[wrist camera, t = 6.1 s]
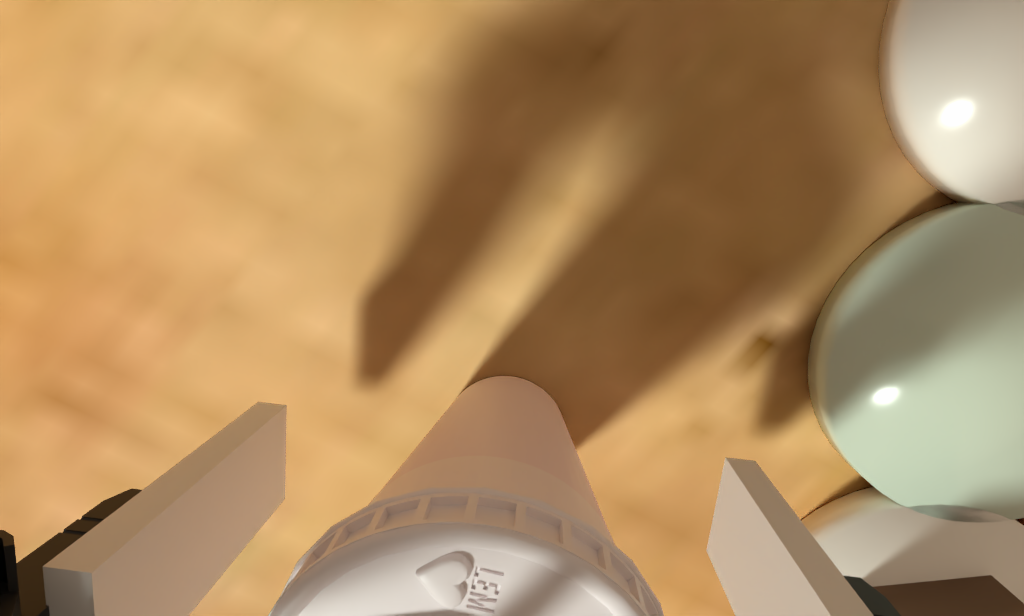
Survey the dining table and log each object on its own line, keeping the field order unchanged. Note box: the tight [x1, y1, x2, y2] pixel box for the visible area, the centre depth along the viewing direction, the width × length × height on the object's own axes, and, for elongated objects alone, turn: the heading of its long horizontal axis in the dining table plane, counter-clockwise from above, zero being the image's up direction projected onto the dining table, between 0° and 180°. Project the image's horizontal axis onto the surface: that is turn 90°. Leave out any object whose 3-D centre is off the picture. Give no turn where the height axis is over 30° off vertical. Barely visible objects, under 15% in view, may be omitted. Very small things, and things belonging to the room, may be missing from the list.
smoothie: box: [268, 376, 664, 616], centre depth 11 cm, size 6×6×14 cm
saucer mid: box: [808, 200, 1024, 523], centre depth 16 cm, size 9×9×1 cm
